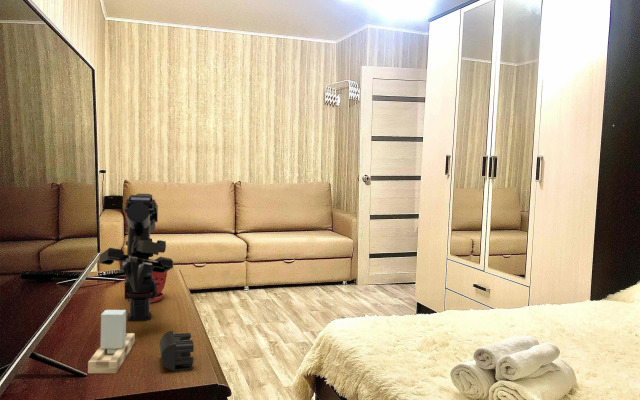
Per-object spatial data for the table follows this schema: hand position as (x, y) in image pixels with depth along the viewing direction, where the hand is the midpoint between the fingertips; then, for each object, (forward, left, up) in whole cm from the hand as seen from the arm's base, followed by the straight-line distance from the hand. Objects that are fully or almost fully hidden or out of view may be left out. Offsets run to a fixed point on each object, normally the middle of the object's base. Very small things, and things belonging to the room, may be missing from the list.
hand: (135, 291), depth 140 cm
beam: (+12, -5, -13) cm, 18 cm away
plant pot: (-41, +3, -13) cm, 43 cm away
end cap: (+20, +9, -13) cm, 26 cm away
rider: (+13, -5, -11) cm, 17 cm away
